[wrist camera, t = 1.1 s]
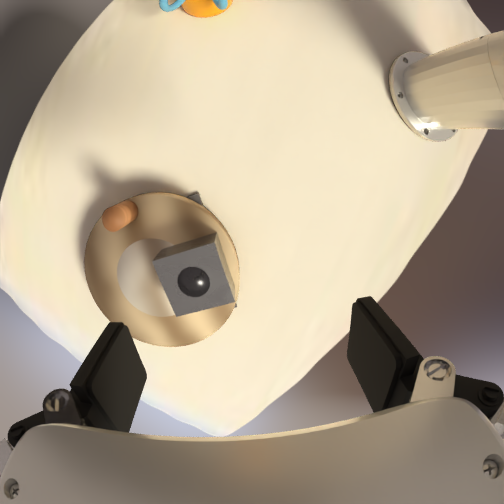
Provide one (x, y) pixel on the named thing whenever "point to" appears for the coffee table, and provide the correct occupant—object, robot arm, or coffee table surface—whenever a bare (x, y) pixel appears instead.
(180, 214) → the turntable
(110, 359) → the robot arm
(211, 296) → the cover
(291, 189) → the coffee table surface
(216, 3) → the cylinder
